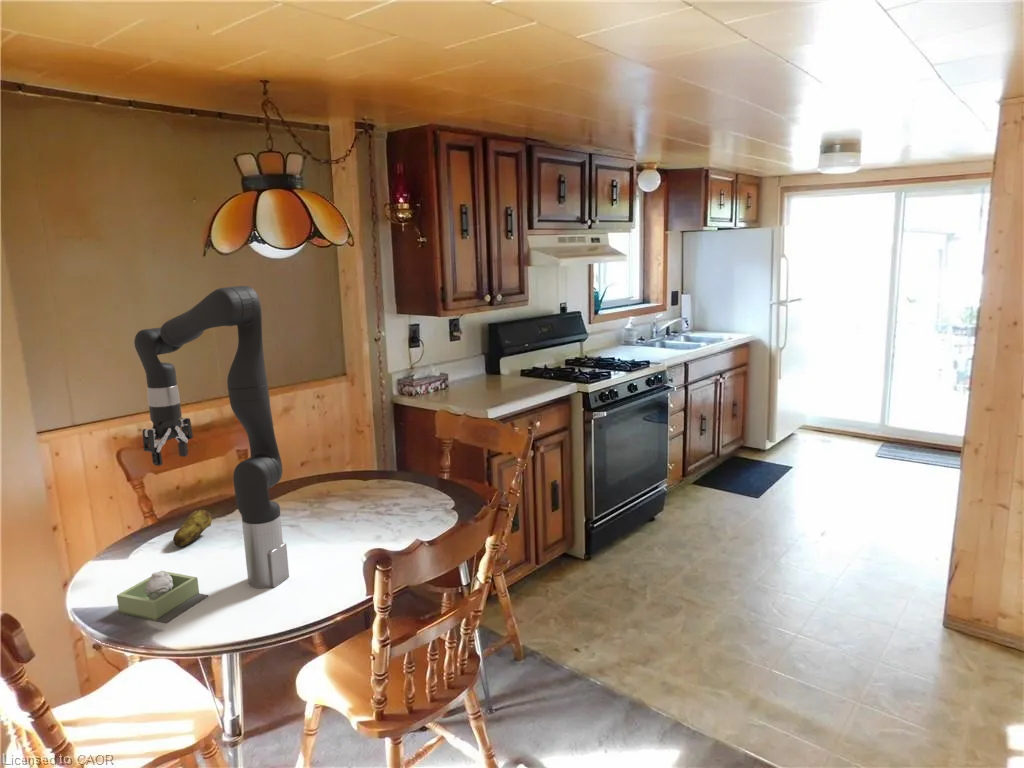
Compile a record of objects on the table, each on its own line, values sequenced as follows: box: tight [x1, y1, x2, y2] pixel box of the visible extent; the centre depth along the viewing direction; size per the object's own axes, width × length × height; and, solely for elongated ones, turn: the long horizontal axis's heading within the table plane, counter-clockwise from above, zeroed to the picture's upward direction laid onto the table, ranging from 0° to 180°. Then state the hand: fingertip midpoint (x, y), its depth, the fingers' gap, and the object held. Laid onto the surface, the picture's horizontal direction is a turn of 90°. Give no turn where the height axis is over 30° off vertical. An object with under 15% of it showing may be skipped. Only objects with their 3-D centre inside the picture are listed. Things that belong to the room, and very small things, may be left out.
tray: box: [116, 570, 209, 624], centre depth 164 cm, size 14×13×5 cm
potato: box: [172, 509, 213, 547], centre depth 200 cm, size 8×13×8 cm, turn 144°
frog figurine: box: [145, 571, 173, 600], centre depth 164 cm, size 6×7×7 cm
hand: (171, 460), depth 184 cm, fingers open, 8 cm apart
